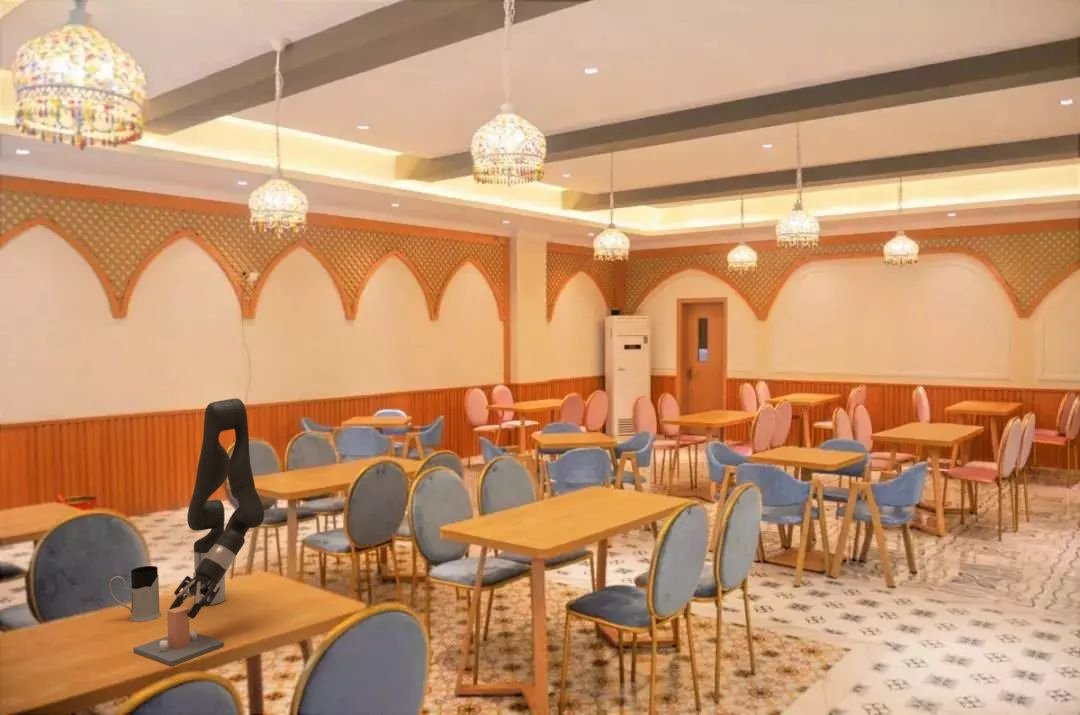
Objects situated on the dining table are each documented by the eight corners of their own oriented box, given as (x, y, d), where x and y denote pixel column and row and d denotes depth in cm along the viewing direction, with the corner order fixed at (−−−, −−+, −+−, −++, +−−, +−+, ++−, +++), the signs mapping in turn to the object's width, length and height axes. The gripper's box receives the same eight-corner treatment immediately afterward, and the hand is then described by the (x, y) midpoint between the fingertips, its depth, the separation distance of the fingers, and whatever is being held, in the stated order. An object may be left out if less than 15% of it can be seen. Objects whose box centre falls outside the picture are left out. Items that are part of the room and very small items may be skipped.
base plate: (133, 652, 229) (133, 639, 229) (185, 634, 242) (185, 621, 242) (171, 666, 219) (171, 652, 219) (224, 646, 232) (223, 633, 232)
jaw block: (168, 645, 230) (167, 610, 230) (181, 641, 234) (180, 606, 233) (176, 648, 228) (175, 613, 228) (189, 644, 231) (188, 608, 231)
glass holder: (160, 619, 255) (158, 571, 255) (109, 626, 250) (107, 577, 250) (162, 610, 263) (160, 564, 263) (112, 616, 258) (110, 569, 258)
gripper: (192, 553, 242) (157, 603, 233) (222, 560, 234) (186, 612, 225) (209, 566, 247) (174, 616, 238) (239, 574, 239) (204, 625, 230)
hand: (180, 614), depth 231 cm, fingers open, 8 cm apart
